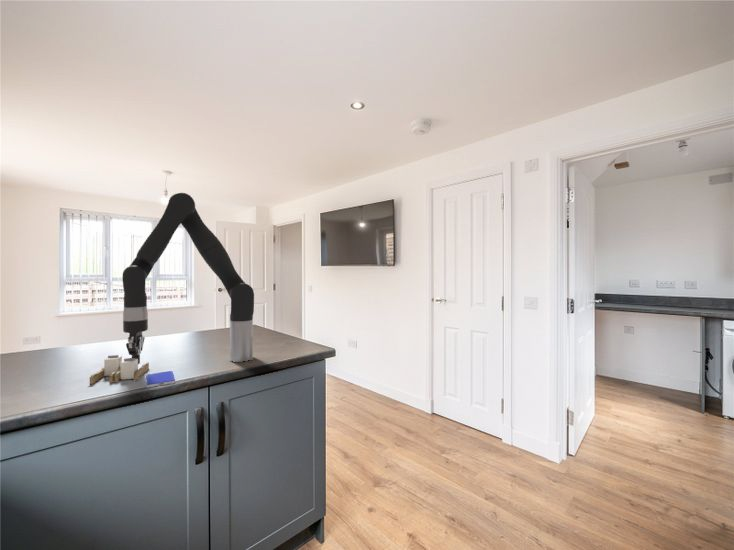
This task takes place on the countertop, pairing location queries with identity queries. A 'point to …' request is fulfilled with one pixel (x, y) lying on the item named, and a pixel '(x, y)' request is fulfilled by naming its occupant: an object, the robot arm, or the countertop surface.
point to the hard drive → (160, 378)
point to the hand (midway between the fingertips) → (135, 364)
